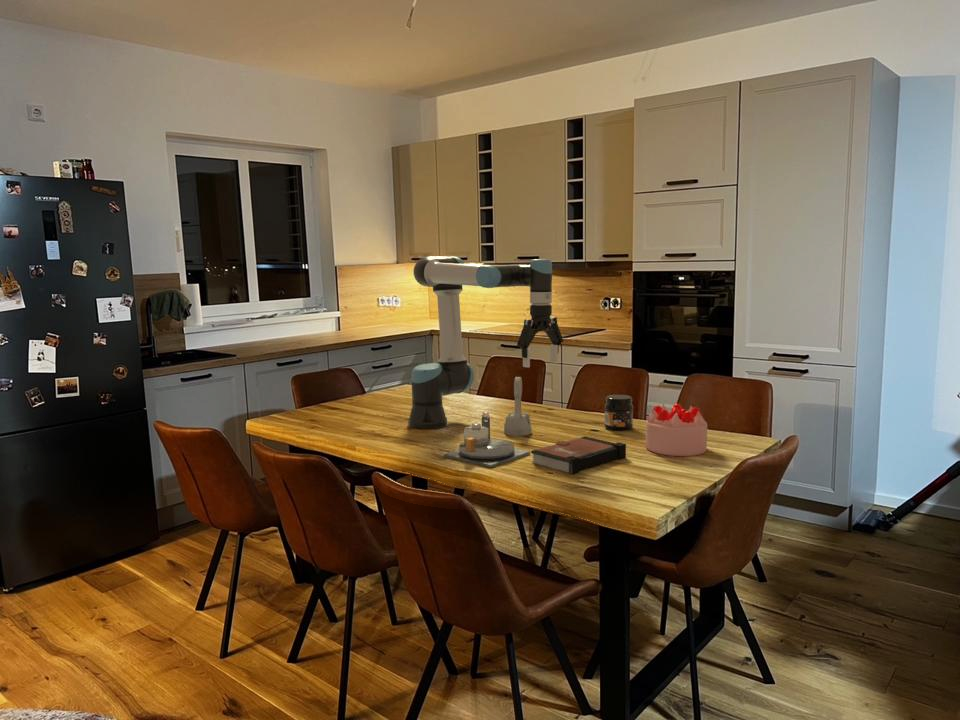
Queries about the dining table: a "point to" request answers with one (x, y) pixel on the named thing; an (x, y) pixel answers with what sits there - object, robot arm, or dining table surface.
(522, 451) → the base plate
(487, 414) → the stand
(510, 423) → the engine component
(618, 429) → the supplement container
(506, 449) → the turntable
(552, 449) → the book
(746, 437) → the dining table surface
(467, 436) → the cover
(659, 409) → the cake
